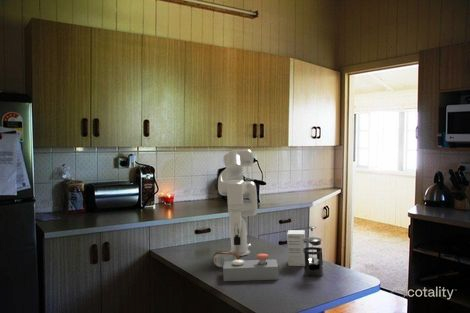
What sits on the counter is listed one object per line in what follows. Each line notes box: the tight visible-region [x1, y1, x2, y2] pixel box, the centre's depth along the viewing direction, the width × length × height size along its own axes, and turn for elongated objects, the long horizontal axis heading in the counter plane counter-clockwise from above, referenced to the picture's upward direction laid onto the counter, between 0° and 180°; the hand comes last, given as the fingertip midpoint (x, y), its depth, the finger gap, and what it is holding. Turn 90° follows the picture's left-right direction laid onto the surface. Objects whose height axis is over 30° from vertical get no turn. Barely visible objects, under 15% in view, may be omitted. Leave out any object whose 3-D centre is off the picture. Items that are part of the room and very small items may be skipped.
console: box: [222, 258, 280, 282], centre depth 189 cm, size 26×12×6 cm, turn 88°
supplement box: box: [286, 229, 307, 267], centre depth 206 cm, size 10×9×17 cm
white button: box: [232, 259, 244, 266], centre depth 189 cm, size 6×6×5 cm
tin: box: [212, 250, 242, 269], centre depth 204 cm, size 15×3×8 cm, turn 71°
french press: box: [303, 226, 324, 278], centre depth 188 cm, size 12×9×23 cm
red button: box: [256, 253, 269, 265], centre depth 189 cm, size 6×6×5 cm
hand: (237, 244), depth 189 cm, fingers closed
